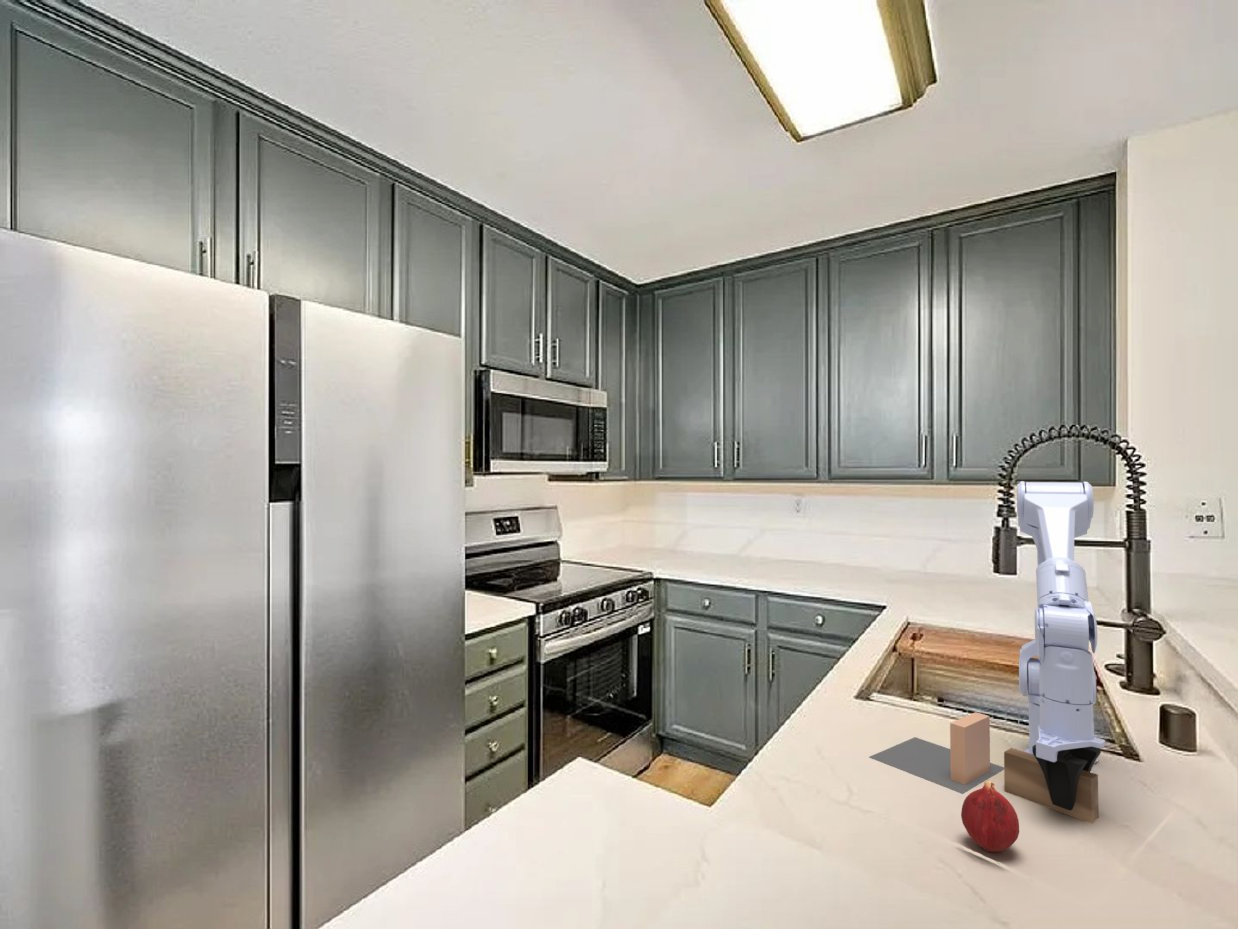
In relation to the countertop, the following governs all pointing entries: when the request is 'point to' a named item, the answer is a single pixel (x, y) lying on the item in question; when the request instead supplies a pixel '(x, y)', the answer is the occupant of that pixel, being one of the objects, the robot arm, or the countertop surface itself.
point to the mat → (929, 763)
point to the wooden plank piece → (1031, 785)
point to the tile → (969, 747)
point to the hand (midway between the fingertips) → (1067, 803)
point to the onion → (990, 819)
